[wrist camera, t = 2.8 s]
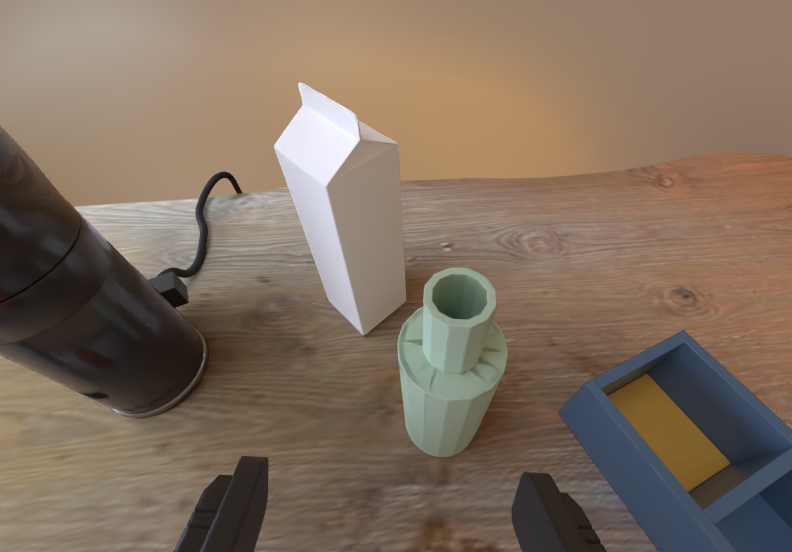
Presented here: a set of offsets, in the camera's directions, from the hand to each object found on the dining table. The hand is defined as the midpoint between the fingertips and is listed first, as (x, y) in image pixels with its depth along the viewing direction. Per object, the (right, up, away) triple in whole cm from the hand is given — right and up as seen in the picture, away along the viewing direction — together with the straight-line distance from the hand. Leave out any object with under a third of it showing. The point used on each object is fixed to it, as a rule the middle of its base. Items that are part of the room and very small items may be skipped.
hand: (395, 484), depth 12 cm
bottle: (+4, -6, +20) cm, 21 cm away
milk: (-3, +4, +28) cm, 28 cm away
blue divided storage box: (+22, -10, +16) cm, 29 cm away
